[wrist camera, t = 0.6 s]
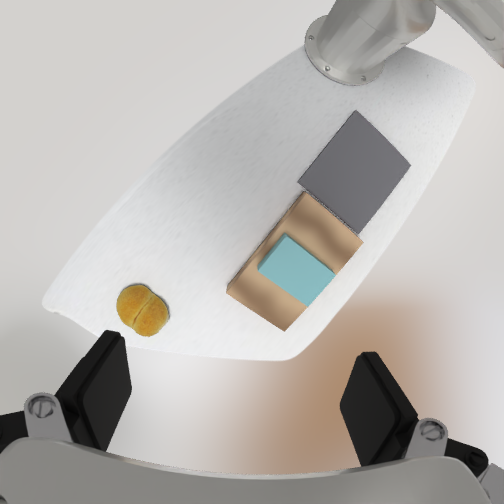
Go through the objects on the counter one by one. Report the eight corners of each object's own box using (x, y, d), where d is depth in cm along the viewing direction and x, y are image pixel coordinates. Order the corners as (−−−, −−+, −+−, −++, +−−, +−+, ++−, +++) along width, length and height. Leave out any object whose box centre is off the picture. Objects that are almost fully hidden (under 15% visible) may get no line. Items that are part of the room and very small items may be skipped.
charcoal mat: (355, 110, 36) (356, 110, 35) (409, 165, 38) (411, 165, 38) (297, 182, 39) (298, 182, 39) (357, 233, 41) (358, 234, 41)
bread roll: (134, 274, 43) (124, 283, 39) (177, 308, 45) (171, 320, 41) (112, 306, 45) (102, 317, 41) (152, 338, 47) (145, 351, 43)
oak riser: (303, 191, 40) (306, 193, 37) (357, 237, 42) (363, 242, 39) (227, 286, 44) (226, 293, 41) (282, 323, 46) (284, 331, 43)
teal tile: (284, 232, 39) (286, 236, 37) (332, 270, 40) (336, 275, 38) (257, 265, 40) (257, 271, 38) (305, 300, 42) (307, 306, 40)
